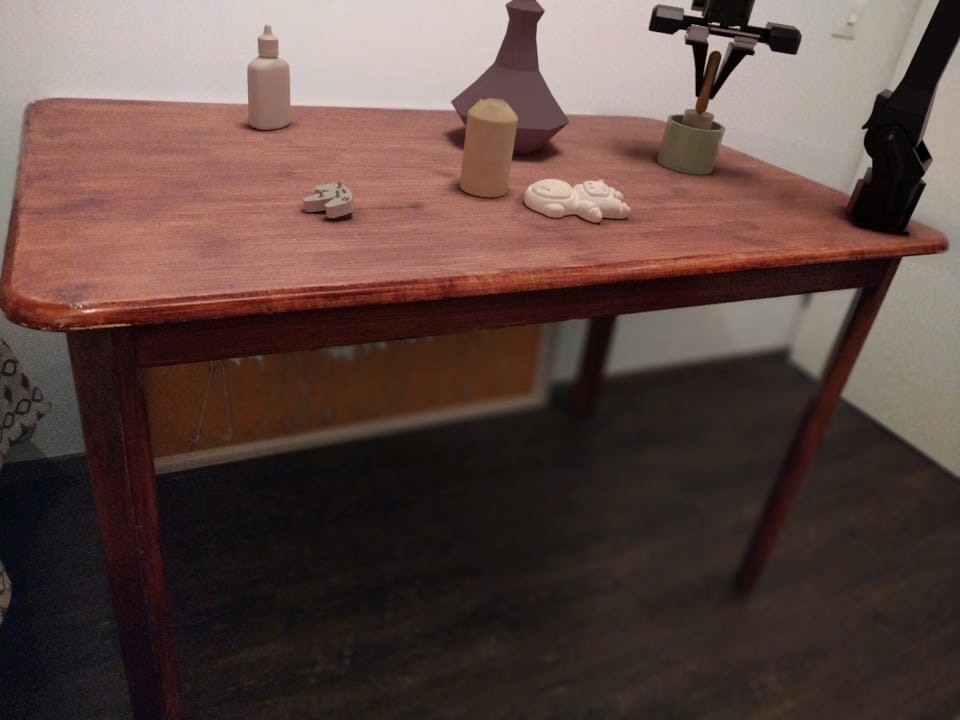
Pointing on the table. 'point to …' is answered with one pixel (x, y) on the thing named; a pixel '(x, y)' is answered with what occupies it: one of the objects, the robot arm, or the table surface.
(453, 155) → the table surface
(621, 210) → the astronaut figurine
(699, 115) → the brush
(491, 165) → the candle
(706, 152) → the scrub cup
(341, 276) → the table surface
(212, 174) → the table surface
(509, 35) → the purple faceted vase
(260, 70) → the eye dropper bottle
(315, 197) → the game controller
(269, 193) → the table surface
